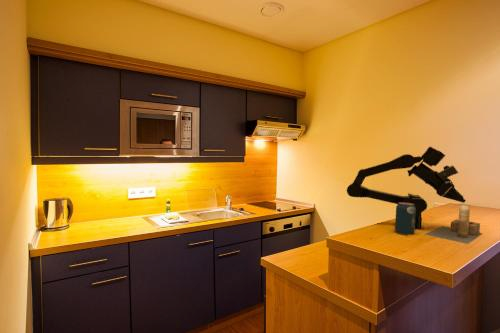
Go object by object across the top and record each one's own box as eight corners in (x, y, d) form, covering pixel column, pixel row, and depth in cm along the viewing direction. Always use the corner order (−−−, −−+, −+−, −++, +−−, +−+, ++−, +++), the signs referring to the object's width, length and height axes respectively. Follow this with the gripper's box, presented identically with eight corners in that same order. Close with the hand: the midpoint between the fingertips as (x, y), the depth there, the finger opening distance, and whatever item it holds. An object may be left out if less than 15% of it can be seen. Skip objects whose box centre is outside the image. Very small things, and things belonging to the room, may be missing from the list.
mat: (468, 244, 101) (468, 243, 101) (424, 235, 112) (424, 234, 112) (482, 234, 116) (482, 233, 116) (442, 226, 126) (442, 225, 126)
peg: (462, 238, 108) (465, 205, 108) (455, 235, 111) (457, 203, 111) (469, 238, 109) (472, 205, 108) (462, 235, 112) (464, 203, 111)
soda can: (417, 236, 110) (419, 205, 110) (397, 234, 112) (399, 204, 111) (410, 231, 117) (412, 202, 117) (392, 230, 119) (394, 201, 118)
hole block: (474, 236, 111) (475, 226, 111) (450, 231, 117) (451, 221, 117) (479, 232, 117) (480, 223, 116) (456, 228, 123) (456, 219, 122)
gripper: (442, 160, 109) (483, 187, 103) (441, 158, 124) (476, 181, 118) (421, 183, 113) (459, 209, 107) (422, 178, 128) (456, 201, 122)
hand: (463, 199), depth 113 cm, fingers open, 9 cm apart
